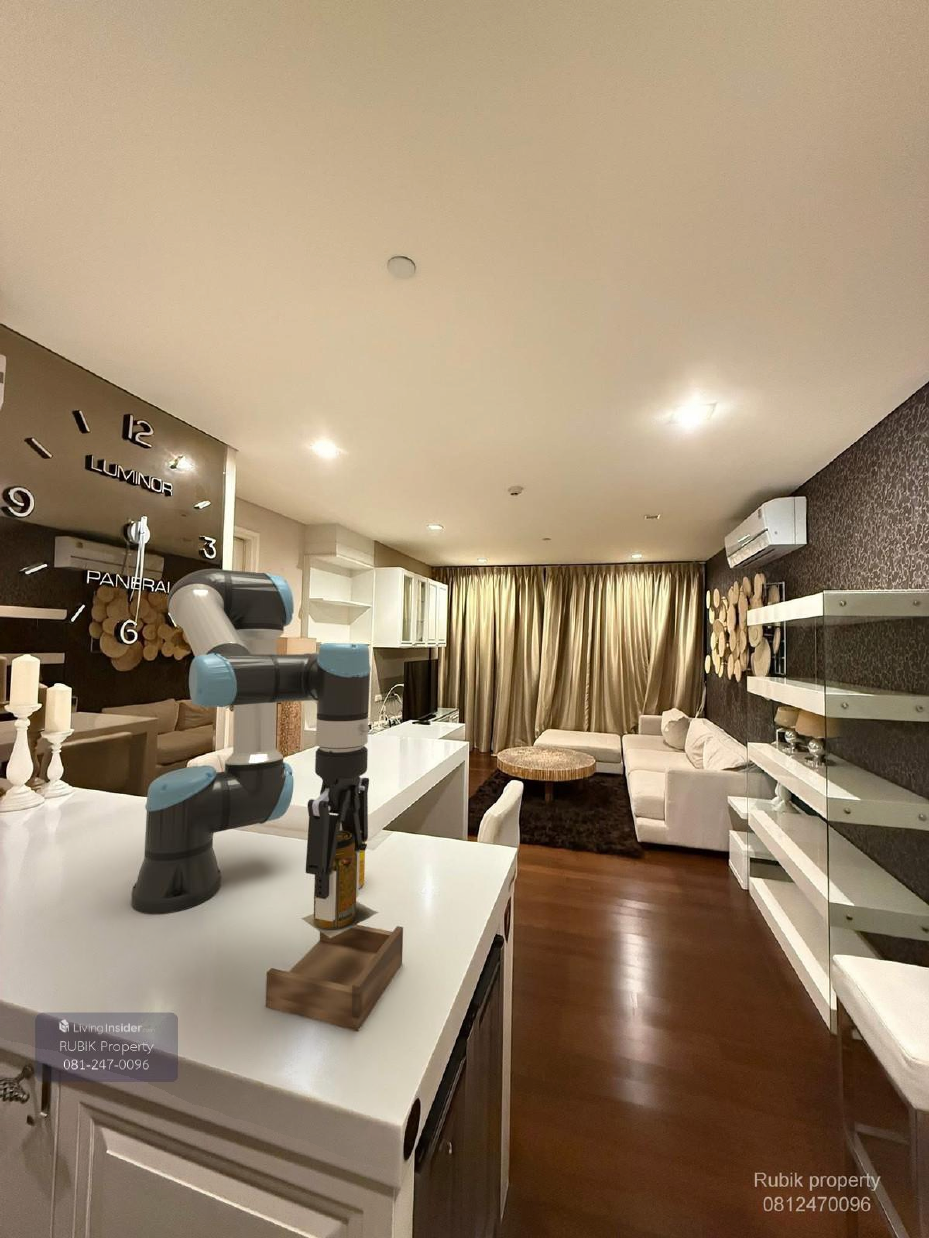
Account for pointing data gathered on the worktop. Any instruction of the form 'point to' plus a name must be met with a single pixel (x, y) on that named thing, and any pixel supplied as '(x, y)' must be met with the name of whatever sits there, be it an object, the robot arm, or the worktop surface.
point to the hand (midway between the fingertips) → (337, 905)
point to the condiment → (343, 891)
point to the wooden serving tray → (339, 977)
